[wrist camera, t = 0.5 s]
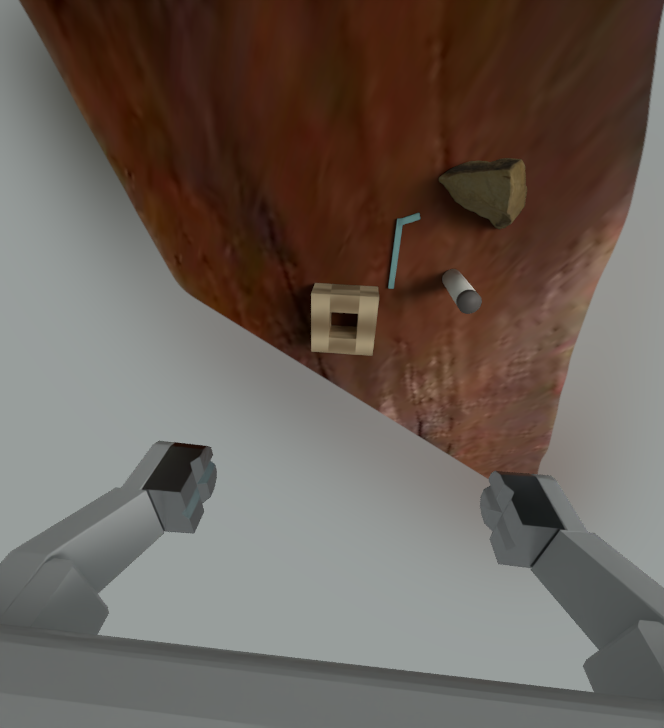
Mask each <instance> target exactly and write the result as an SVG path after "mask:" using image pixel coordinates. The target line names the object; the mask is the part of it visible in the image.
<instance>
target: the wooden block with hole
mask: <svg viewBox="0 0 664 728" xmlns="http://www.w3.org/2000/svg"><path fill="white" fill-rule="evenodd" d="M378 303H379V292H378V287H374V286H357V285H339V284H322V283H315V284H314V287H313V290H312V292H311V351H312V352H327V353H341V354H356V355H371V356H372V354H373V346H374V337H375V329H376V320H377V312H378ZM331 312H338V313H354V314H358V318H357V327H353V326H338V325H331Z"/></svg>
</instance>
